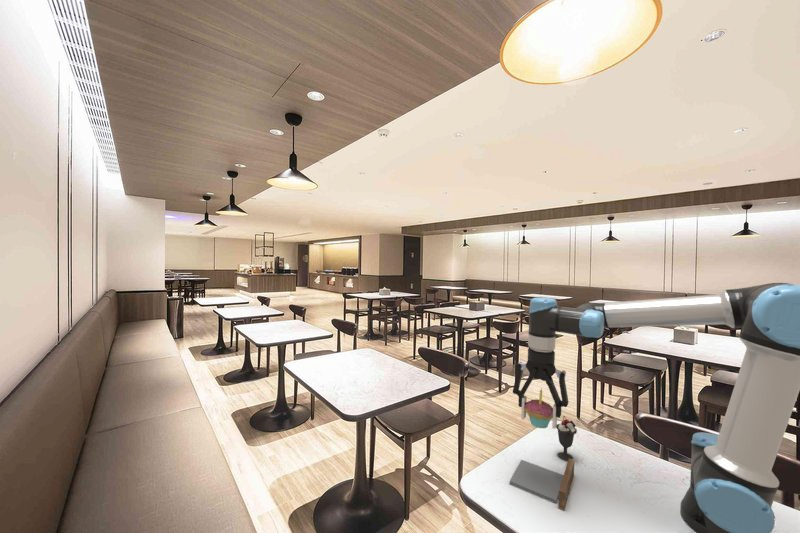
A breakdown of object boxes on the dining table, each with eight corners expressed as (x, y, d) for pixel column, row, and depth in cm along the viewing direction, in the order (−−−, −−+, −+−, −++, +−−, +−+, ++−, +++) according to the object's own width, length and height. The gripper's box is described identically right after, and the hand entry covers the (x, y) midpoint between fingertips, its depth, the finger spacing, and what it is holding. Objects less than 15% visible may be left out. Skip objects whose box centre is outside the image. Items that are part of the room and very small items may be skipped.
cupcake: (557, 433, 94) (558, 393, 93) (526, 429, 95) (527, 389, 95) (549, 419, 102) (551, 381, 102) (521, 415, 104) (522, 379, 103)
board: (564, 478, 101) (564, 475, 101) (556, 503, 90) (556, 500, 90) (521, 462, 108) (521, 459, 108) (509, 484, 98) (509, 480, 98)
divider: (573, 475, 102) (574, 459, 102) (564, 511, 87) (565, 493, 87) (568, 473, 103) (568, 457, 103) (558, 508, 88) (558, 490, 88)
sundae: (556, 460, 109) (557, 417, 109) (553, 449, 116) (554, 408, 115) (578, 464, 107) (579, 420, 107) (573, 453, 114) (574, 411, 113)
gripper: (582, 352, 95) (579, 428, 96) (510, 340, 107) (507, 407, 108) (578, 358, 89) (575, 439, 89) (502, 345, 101) (500, 416, 102)
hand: (538, 421), depth 99 cm, fingers closed on cupcake, 8 cm apart
